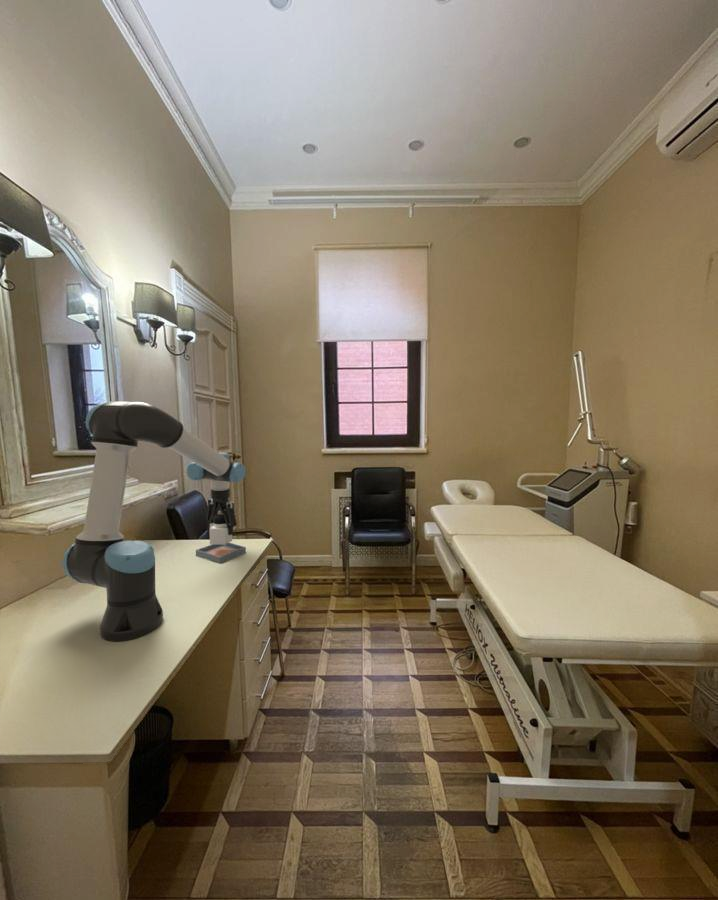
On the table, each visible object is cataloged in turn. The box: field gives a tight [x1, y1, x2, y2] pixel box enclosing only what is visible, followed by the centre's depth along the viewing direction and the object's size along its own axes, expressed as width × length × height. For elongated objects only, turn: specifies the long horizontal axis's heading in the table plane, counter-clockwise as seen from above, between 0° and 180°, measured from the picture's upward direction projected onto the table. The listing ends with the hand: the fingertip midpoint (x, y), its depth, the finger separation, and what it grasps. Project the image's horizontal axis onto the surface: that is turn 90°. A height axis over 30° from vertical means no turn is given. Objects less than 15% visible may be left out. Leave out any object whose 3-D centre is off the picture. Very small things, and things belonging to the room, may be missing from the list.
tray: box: [195, 542, 247, 564], centre depth 156 cm, size 14×15×2 cm
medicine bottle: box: [209, 513, 230, 545], centre depth 156 cm, size 7×7×12 cm
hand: (221, 539), depth 156 cm, fingers closed on medicine bottle, 9 cm apart
